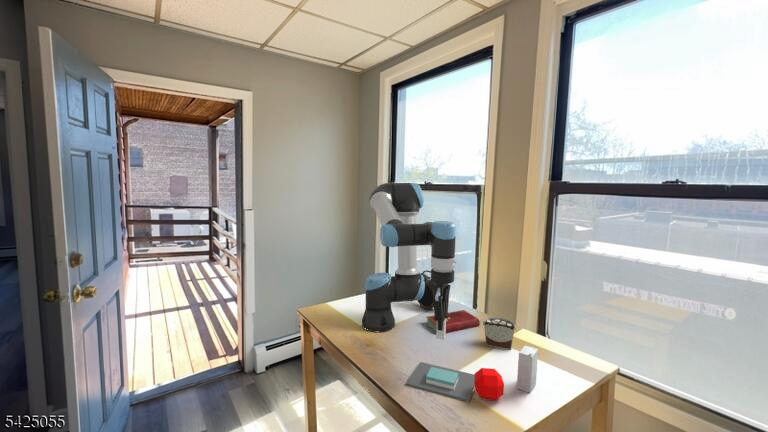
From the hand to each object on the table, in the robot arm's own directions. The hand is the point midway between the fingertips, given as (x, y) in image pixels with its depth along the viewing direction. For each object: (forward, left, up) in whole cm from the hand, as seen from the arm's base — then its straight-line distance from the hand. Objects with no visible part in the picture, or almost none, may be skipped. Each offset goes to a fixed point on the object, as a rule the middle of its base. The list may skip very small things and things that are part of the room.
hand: (440, 337), depth 110 cm
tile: (+2, -1, -11) cm, 11 cm away
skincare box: (+27, +5, -13) cm, 30 cm away
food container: (+16, +31, -13) cm, 37 cm away
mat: (+2, -3, -13) cm, 13 cm away
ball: (+16, -5, -13) cm, 21 cm away
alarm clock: (-21, +55, -13) cm, 60 cm away
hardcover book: (-5, +41, -14) cm, 44 cm away
